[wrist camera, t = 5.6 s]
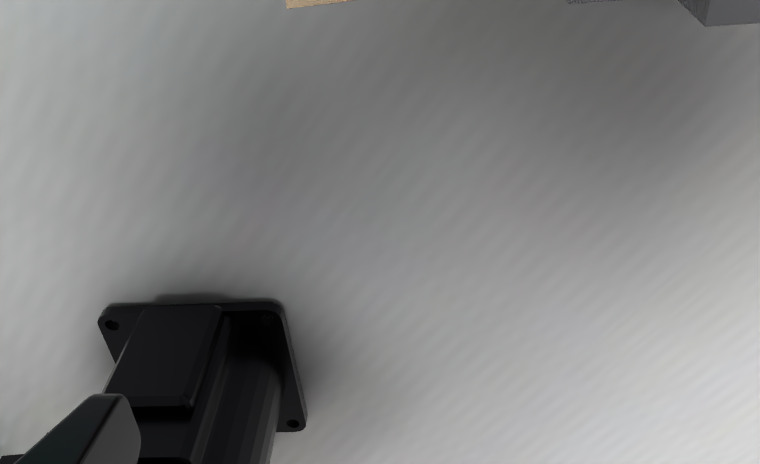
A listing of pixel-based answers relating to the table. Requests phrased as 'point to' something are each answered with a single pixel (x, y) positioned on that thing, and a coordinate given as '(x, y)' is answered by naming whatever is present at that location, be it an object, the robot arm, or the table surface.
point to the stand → (716, 11)
